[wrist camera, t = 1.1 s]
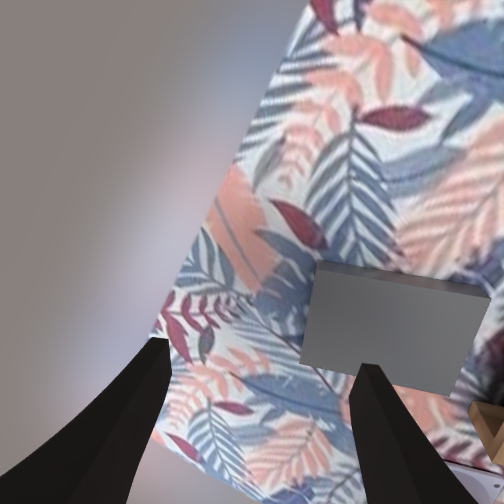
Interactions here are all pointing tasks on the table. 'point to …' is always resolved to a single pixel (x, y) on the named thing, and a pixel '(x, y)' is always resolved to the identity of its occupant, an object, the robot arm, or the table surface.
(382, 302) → the slate tile
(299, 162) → the table surface
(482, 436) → the oak overhang shelf
